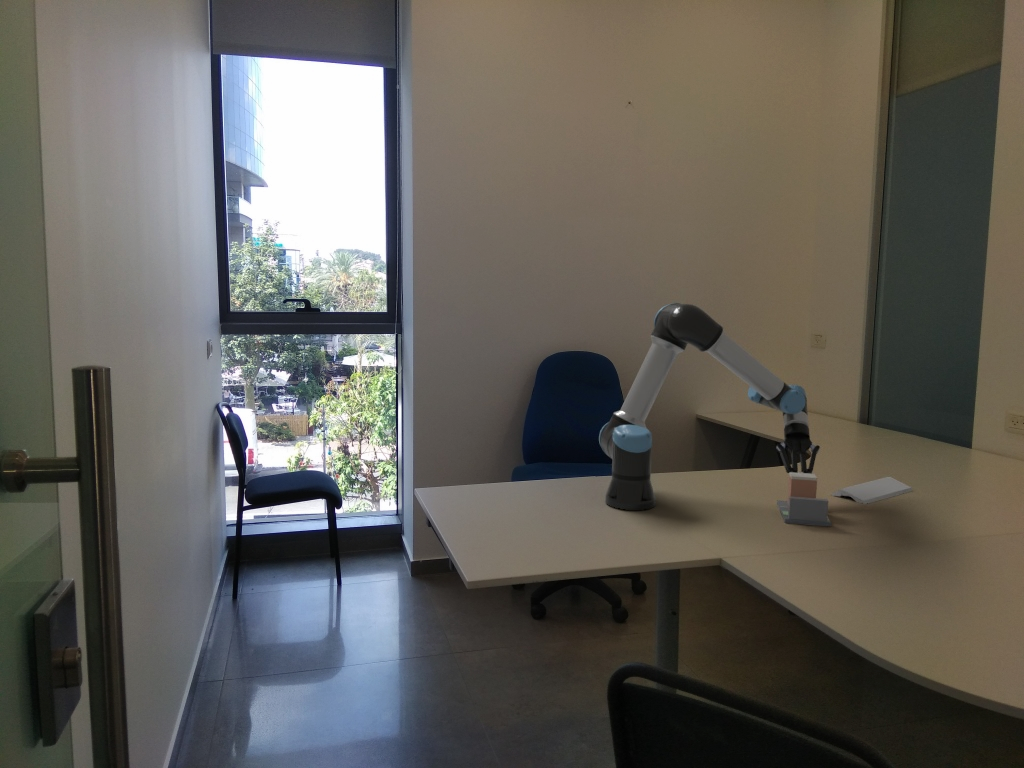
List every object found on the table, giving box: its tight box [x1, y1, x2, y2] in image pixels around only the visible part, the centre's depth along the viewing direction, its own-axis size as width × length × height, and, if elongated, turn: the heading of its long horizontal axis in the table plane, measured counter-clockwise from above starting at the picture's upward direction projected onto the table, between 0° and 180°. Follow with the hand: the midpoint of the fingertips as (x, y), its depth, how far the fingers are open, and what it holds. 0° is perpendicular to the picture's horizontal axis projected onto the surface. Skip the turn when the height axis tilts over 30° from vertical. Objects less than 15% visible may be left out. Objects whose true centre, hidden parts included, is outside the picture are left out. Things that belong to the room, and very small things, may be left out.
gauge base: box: [776, 496, 832, 528], centre depth 211 cm, size 12×19×7 cm, turn 166°
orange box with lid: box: [787, 472, 818, 506], centre depth 214 cm, size 7×5×10 cm
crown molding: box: [829, 476, 914, 505], centre depth 236 cm, size 29×12×4 cm, turn 125°
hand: (801, 492), depth 218 cm, fingers closed
